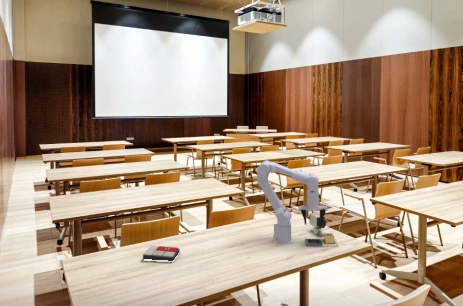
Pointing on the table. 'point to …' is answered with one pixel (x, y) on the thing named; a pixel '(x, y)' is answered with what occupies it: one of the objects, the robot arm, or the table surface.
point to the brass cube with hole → (328, 238)
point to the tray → (319, 243)
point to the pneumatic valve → (316, 222)
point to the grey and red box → (161, 253)
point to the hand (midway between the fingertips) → (312, 223)
